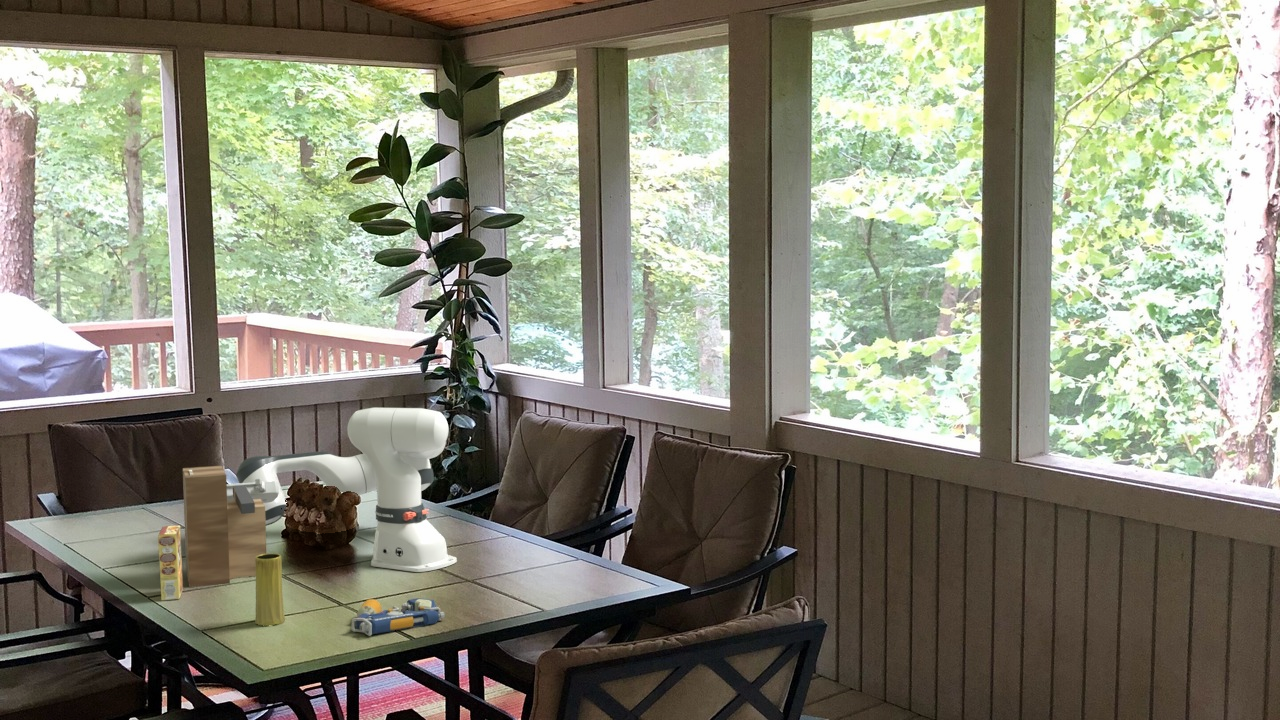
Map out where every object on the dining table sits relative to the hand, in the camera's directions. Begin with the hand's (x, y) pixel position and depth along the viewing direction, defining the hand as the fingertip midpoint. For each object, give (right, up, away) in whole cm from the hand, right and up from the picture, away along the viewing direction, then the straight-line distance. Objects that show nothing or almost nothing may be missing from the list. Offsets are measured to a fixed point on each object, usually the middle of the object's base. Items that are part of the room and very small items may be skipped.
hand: (239, 483), depth 307 cm
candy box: (-6, -23, -28) cm, 37 cm away
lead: (+4, -4, -9) cm, 10 cm away
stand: (+1, -21, -11) cm, 24 cm away
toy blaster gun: (+49, -25, -48) cm, 73 cm away
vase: (+22, -25, -48) cm, 59 cm away
